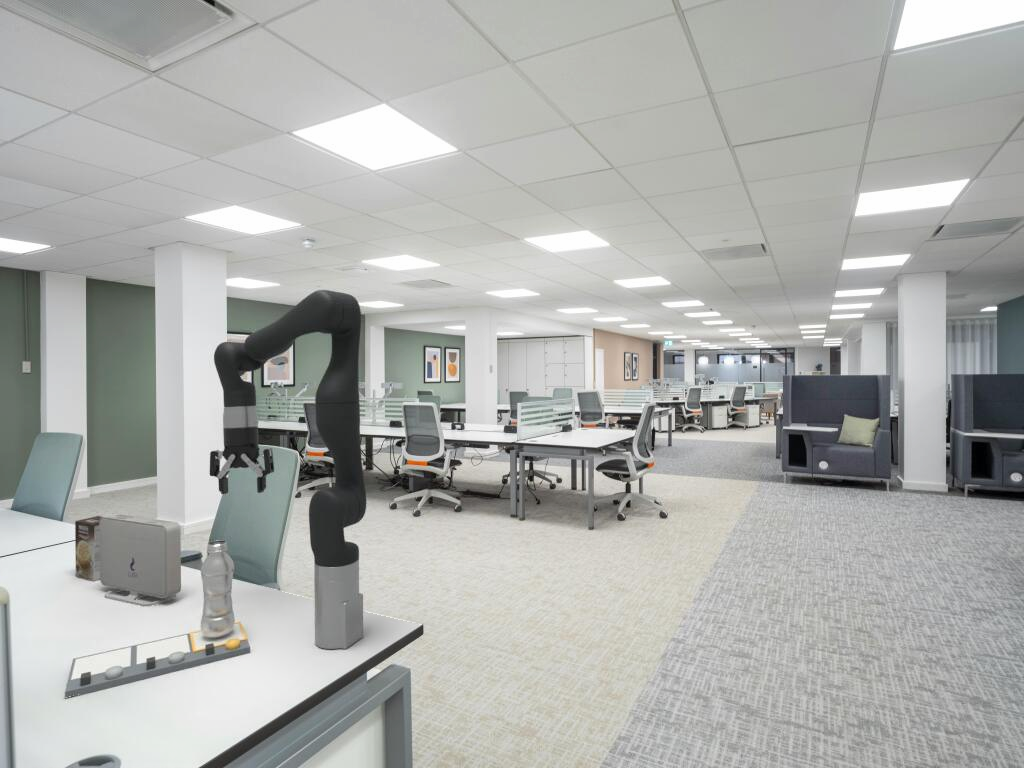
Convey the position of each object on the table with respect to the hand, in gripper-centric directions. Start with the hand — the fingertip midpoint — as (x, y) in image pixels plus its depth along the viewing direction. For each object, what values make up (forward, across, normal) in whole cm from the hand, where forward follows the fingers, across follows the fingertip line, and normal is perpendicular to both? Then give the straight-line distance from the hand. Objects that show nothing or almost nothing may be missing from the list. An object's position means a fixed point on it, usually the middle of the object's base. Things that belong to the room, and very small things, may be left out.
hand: (242, 492), depth 135 cm
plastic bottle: (+28, 0, -14) cm, 31 cm away
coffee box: (+27, -55, +28) cm, 67 cm away
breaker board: (+29, -8, -21) cm, 37 cm away
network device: (+28, -32, +12) cm, 45 cm away
